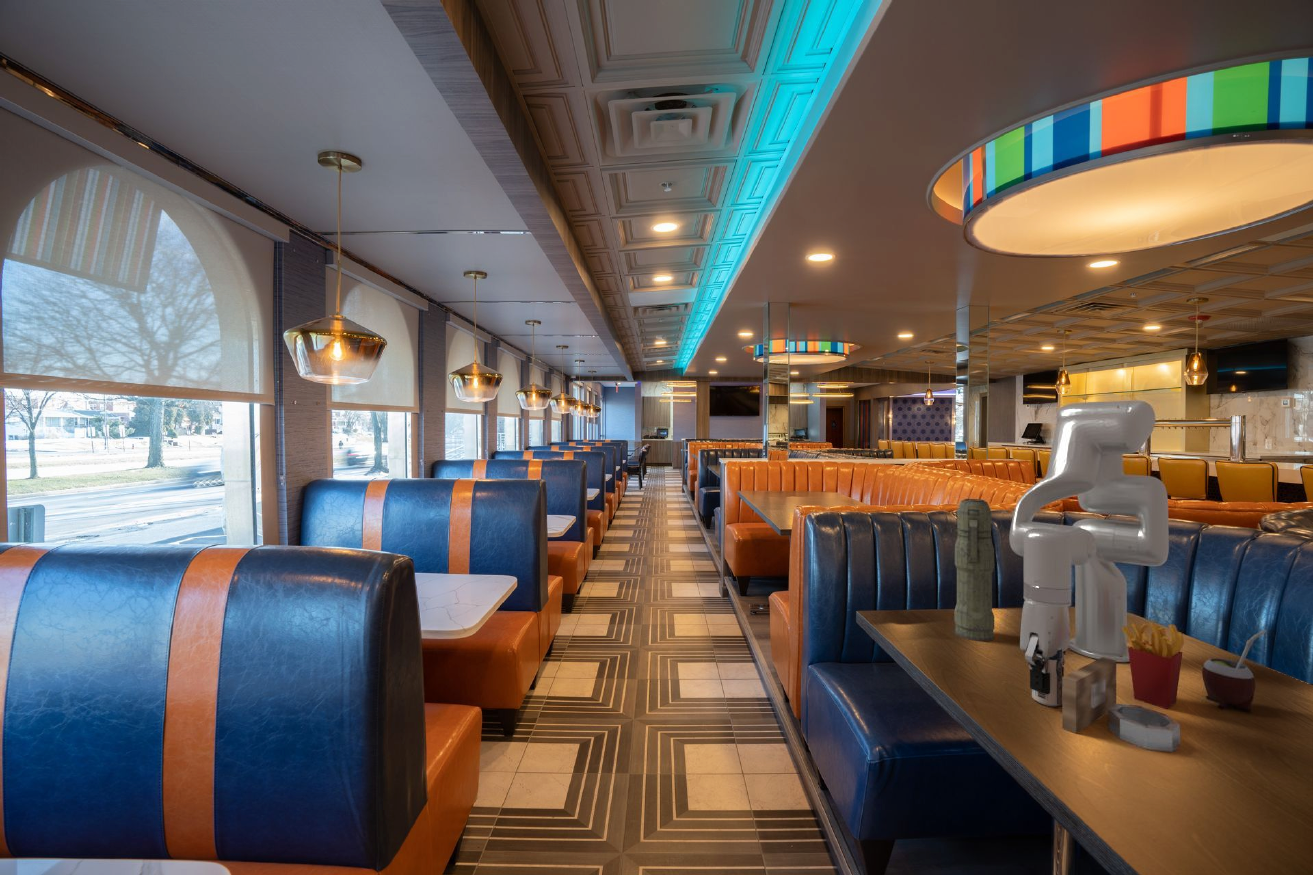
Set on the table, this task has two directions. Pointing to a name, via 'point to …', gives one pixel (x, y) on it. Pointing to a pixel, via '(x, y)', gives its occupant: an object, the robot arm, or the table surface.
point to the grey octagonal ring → (1144, 727)
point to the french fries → (1155, 664)
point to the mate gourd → (1230, 680)
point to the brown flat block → (1088, 694)
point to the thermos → (974, 571)
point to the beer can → (1052, 681)
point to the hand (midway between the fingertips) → (1046, 686)
